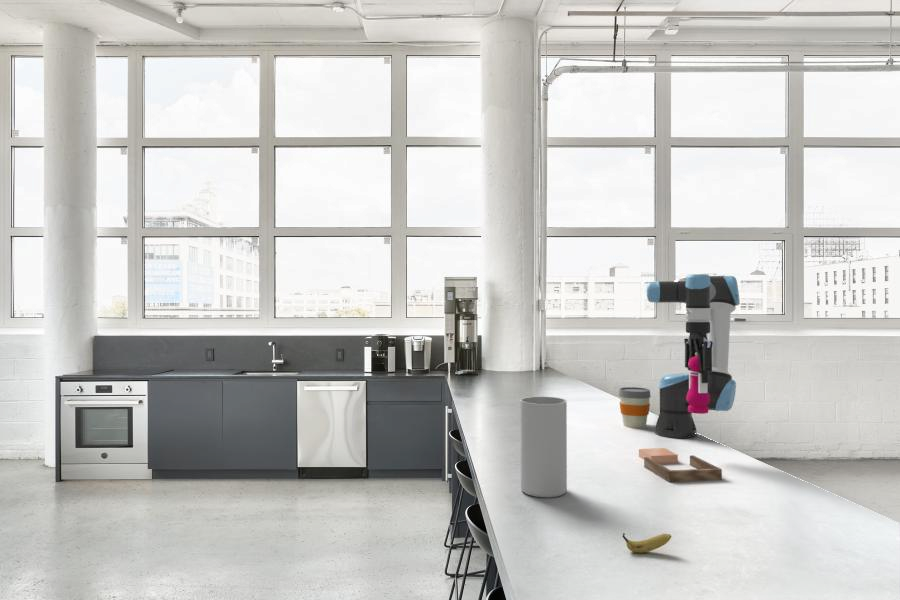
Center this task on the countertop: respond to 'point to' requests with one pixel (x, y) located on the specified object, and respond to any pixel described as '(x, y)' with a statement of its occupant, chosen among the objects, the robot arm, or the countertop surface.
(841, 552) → the countertop surface
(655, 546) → the banana
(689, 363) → the pepper mill
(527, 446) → the cylinder vase
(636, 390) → the reusable coffee cup
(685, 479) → the walnut frame
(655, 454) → the terracotta tile
